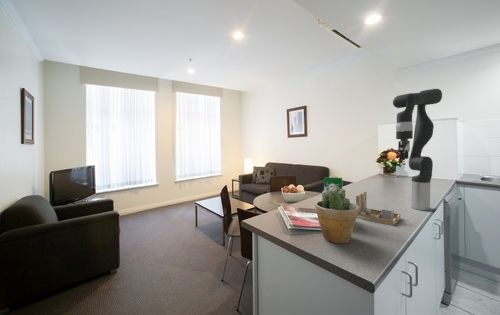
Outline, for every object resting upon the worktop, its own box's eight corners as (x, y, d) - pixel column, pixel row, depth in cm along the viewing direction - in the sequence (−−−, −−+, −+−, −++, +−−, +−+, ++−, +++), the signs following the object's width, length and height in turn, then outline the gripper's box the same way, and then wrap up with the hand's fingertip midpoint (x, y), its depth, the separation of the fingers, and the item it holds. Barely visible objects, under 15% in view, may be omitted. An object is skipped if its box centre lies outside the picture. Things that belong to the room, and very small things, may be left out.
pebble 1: (360, 215, 124) (360, 210, 124) (366, 217, 121) (366, 211, 121) (358, 217, 122) (358, 211, 121) (364, 218, 119) (364, 213, 119)
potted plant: (310, 230, 107) (310, 181, 106) (348, 229, 107) (348, 180, 105) (322, 247, 89) (321, 188, 87) (367, 247, 88) (367, 187, 87)
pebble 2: (366, 212, 129) (366, 207, 129) (372, 213, 127) (372, 208, 127) (364, 213, 127) (364, 208, 127) (370, 214, 125) (370, 209, 125)
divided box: (365, 212, 131) (365, 191, 130) (400, 219, 118) (400, 196, 117) (356, 218, 121) (356, 196, 121) (393, 226, 108) (393, 201, 107)
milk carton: (342, 218, 122) (342, 175, 121) (342, 224, 114) (341, 177, 112) (325, 216, 126) (325, 174, 124) (324, 222, 118) (323, 177, 116)
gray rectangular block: (384, 218, 119) (384, 207, 119) (393, 219, 116) (393, 209, 116) (381, 220, 116) (381, 209, 116) (391, 222, 113) (391, 211, 112)
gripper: (399, 131, 127) (399, 158, 128) (392, 130, 117) (392, 160, 118) (415, 130, 122) (415, 158, 122) (409, 129, 112) (409, 160, 113)
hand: (404, 159), depth 120 cm, fingers open, 8 cm apart
